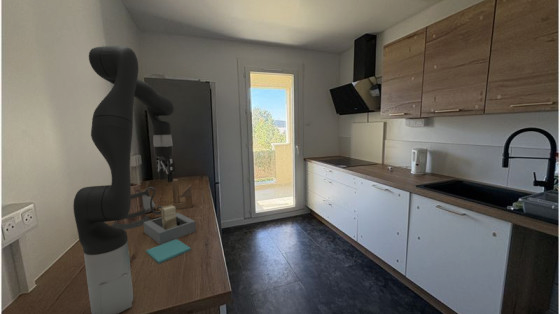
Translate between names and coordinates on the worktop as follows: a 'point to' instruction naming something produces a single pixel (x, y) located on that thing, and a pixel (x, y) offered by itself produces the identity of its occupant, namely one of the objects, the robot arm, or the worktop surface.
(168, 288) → the worktop surface
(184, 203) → the wooden block
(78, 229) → the robot arm
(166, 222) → the birch block
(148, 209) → the coffee pot
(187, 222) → the open gray rectangular frame
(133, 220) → the tankard
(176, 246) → the mat
